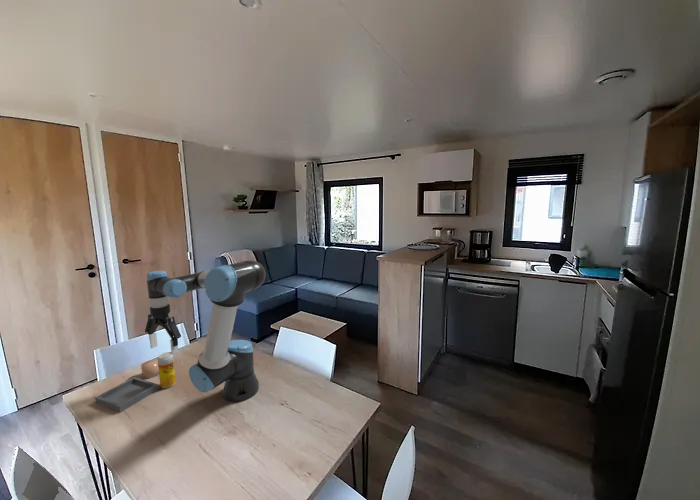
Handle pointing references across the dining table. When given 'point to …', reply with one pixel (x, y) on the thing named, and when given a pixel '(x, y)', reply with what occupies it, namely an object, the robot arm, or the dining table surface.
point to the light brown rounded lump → (150, 369)
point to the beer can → (166, 370)
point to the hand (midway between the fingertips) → (164, 349)
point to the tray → (126, 394)
